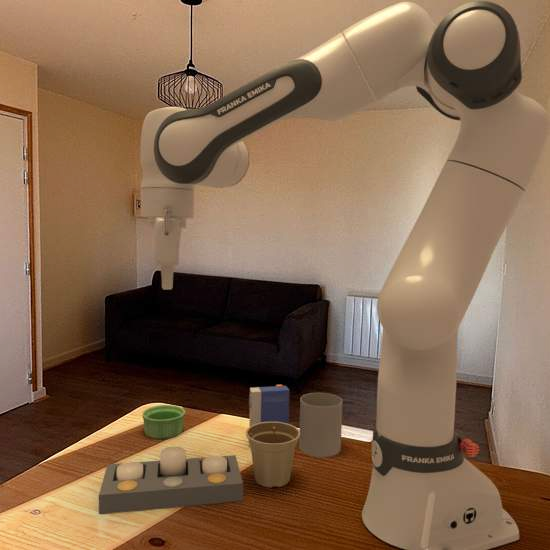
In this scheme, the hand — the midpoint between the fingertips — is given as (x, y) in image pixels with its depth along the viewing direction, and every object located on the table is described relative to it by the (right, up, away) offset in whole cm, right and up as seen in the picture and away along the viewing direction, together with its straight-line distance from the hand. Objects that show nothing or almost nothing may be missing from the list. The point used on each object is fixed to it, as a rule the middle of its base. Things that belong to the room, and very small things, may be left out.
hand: (167, 288), depth 84 cm
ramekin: (-5, -32, +21) cm, 38 cm away
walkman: (+17, -32, +16) cm, 40 cm away
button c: (-6, -33, -3) cm, 34 cm away
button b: (+1, -31, -2) cm, 31 cm away
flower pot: (+18, -34, +2) cm, 38 cm away
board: (+2, -34, -3) cm, 34 cm away
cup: (+28, -33, +15) cm, 45 cm away
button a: (+8, -33, 0) cm, 34 cm away
